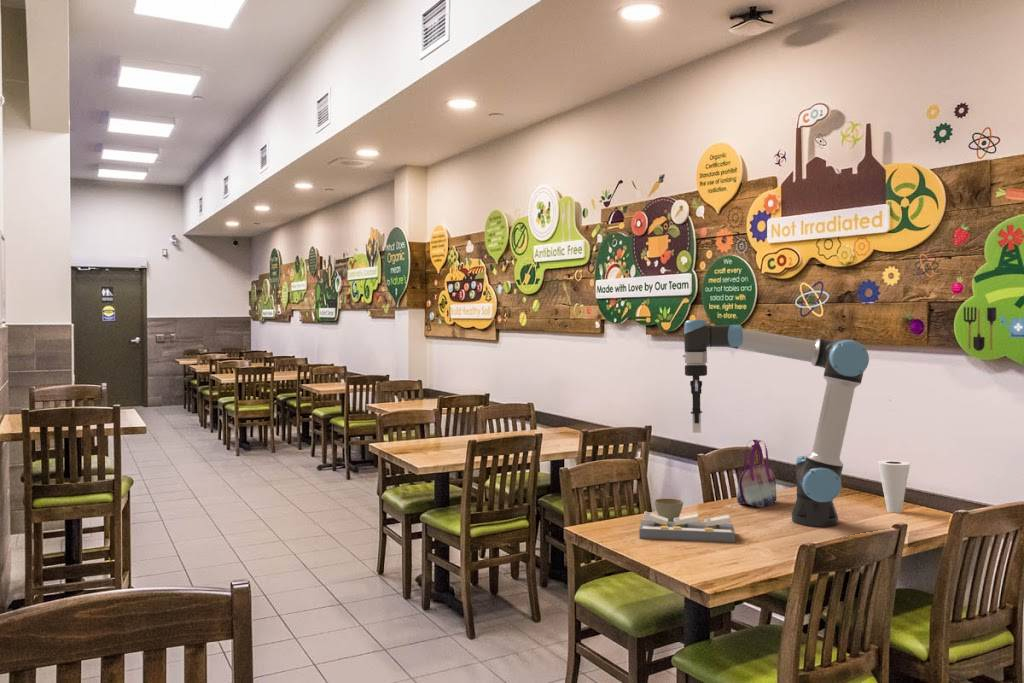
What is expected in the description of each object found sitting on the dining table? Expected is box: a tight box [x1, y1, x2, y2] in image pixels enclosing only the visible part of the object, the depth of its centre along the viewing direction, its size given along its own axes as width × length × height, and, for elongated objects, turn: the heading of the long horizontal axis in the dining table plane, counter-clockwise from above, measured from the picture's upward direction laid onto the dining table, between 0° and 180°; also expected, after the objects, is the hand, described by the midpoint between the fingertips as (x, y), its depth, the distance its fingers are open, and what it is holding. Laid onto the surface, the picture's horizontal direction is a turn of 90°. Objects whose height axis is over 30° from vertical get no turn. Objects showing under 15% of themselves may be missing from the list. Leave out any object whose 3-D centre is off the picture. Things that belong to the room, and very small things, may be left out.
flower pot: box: [653, 497, 684, 522], centre depth 266 cm, size 10×10×7 cm
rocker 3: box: [704, 514, 732, 527], centre depth 245 cm, size 8×4×2 cm, turn 77°
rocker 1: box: [642, 510, 668, 526], centre depth 250 cm, size 8×4×2 cm, turn 77°
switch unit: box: [638, 519, 736, 543], centre depth 246 cm, size 30×12×4 cm, turn 77°
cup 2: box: [877, 459, 911, 514], centre depth 276 cm, size 11×11×18 cm
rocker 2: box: [674, 513, 700, 526], centre depth 247 cm, size 8×4×2 cm, turn 77°
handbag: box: [736, 439, 777, 508], centre depth 291 cm, size 21×10×25 cm, turn 125°
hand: (696, 432), depth 259 cm, fingers closed
